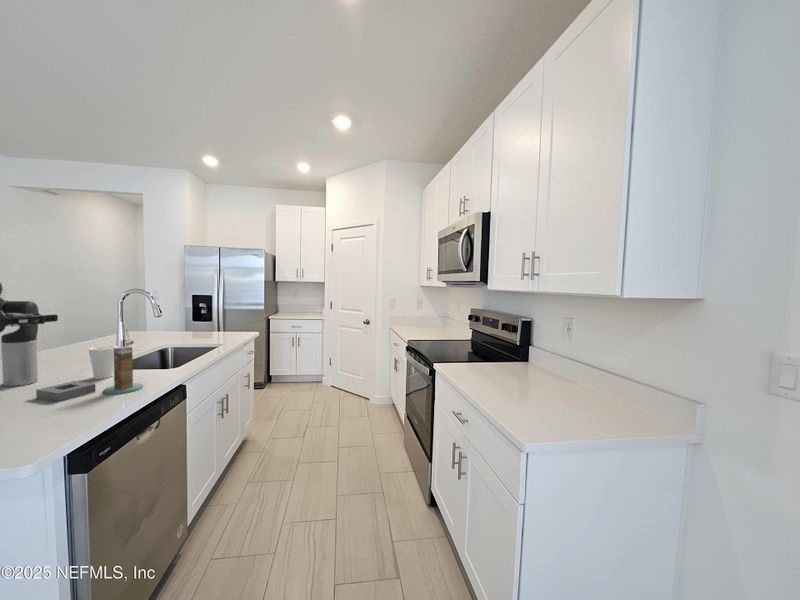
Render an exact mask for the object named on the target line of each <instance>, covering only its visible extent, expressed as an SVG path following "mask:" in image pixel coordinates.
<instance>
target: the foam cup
mask: <svg viewBox="0 0 800 600" xmlns="http://www.w3.org/2000/svg"><path fill="white" fill-rule="evenodd" d="M118 347H119V346H118V345H101V346H93V347H89V348H88V355H89V357H90V364H91V368H92V373H93V378H95V379H94V380H103V379H102V378H105V379H109V378H108V377H110V378H112V377H111V376H113V375H114V348H118ZM113 377H114V376H113Z"/></svg>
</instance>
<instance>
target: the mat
mask: <svg viewBox="0 0 800 600" xmlns="http://www.w3.org/2000/svg"><path fill="white" fill-rule="evenodd" d="M142 387H143V388H144V384H143V383H139V382H133V387H130V388H127V389H123V390H119V389H114V385H111V386H109V387H106V388H104V389H103V391H102V392H103V394H104V393H106V394H105V395H120V394H119V393H123V394H128V392H129V393H133V392H136V390H137V391H140V390H141V389H143V388H142ZM132 391H133V392H132Z"/></svg>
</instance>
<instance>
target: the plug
mask: <svg viewBox="0 0 800 600" xmlns="http://www.w3.org/2000/svg"><path fill="white" fill-rule="evenodd" d="M133 357H134V355H133V346H126V345H125V346H118V348H114V376H113V382H114V383H113V386H114V389H119V390H123V389H127V388H130V387H133V383H134V377H133V375H134V373H133V370H134V369H133V364H134V363H133Z"/></svg>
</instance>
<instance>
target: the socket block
mask: <svg viewBox="0 0 800 600" xmlns="http://www.w3.org/2000/svg"><path fill="white" fill-rule="evenodd" d="M95 391H96V383H90V382H84V381H78V380H73V381H68V382H64V383H60V384H56V385H51V386H47V387H42V388H39V389H36V391H35V393H36V394H35V396H36V399H39V398H41V399H40V400H45V399H46V400H47V401H52V402H59V401H60V402H62V401H66V400H71V399H73V398H78V397H81V396H85V395H89V394H92V393H96V392H95ZM91 392H92V393H91ZM88 393H89V394H88ZM84 394H85V395H84ZM80 395H81V396H80ZM77 396H78V397H77ZM60 402H59V403H60Z"/></svg>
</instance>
